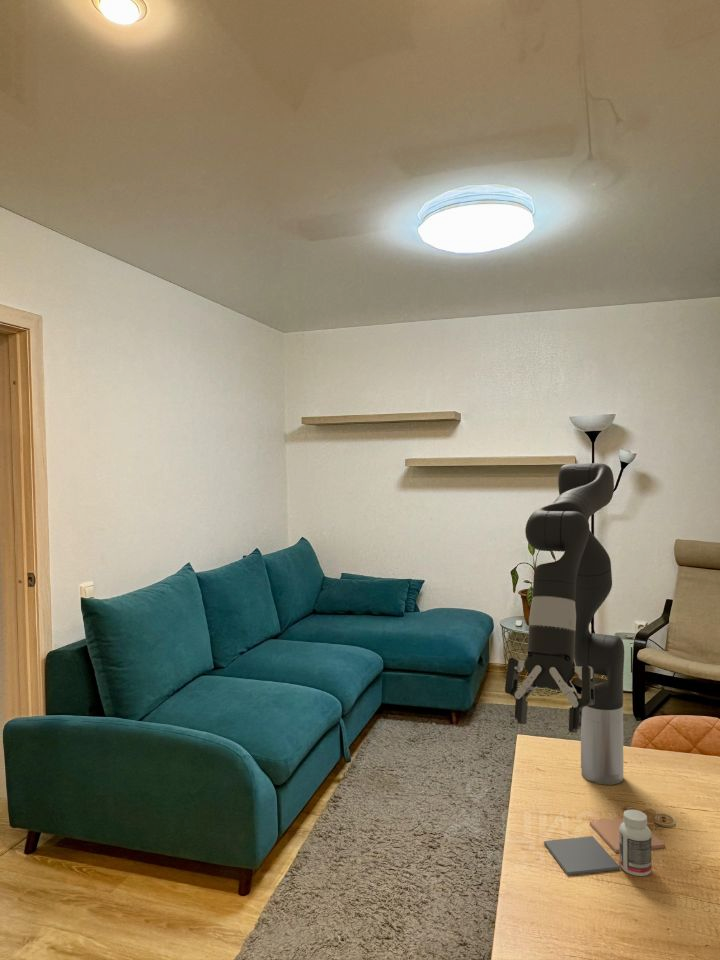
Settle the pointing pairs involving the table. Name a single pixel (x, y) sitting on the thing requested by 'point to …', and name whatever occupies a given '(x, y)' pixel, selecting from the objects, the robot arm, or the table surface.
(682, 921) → the table surface
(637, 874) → the pill bottle
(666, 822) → the cookie
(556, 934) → the table surface
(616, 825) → the terracotta coaster
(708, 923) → the table surface
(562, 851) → the slate coaster
